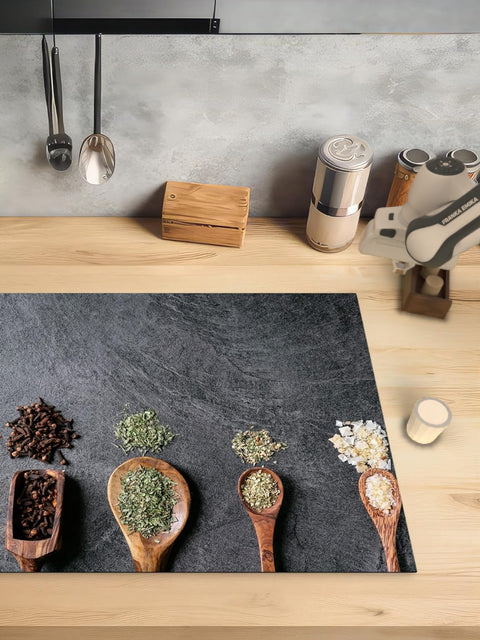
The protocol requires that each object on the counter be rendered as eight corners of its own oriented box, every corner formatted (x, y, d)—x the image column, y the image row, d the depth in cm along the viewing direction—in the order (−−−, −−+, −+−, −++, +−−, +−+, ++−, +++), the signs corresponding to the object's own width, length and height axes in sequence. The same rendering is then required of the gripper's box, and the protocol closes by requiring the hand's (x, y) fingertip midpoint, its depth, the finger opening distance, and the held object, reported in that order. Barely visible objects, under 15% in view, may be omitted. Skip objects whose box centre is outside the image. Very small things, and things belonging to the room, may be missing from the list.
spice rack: (445, 266, 167) (455, 246, 162) (443, 319, 158) (454, 299, 153) (404, 259, 169) (413, 238, 164) (400, 311, 160) (410, 290, 154)
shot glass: (442, 447, 140) (455, 428, 134) (406, 445, 140) (417, 427, 135) (435, 416, 144) (448, 397, 138) (400, 415, 144) (411, 395, 139)
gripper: (471, 224, 150) (447, 270, 162) (369, 206, 154) (353, 253, 165) (471, 245, 147) (447, 291, 158) (367, 227, 150) (350, 273, 162)
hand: (398, 271), depth 162 cm, fingers closed
